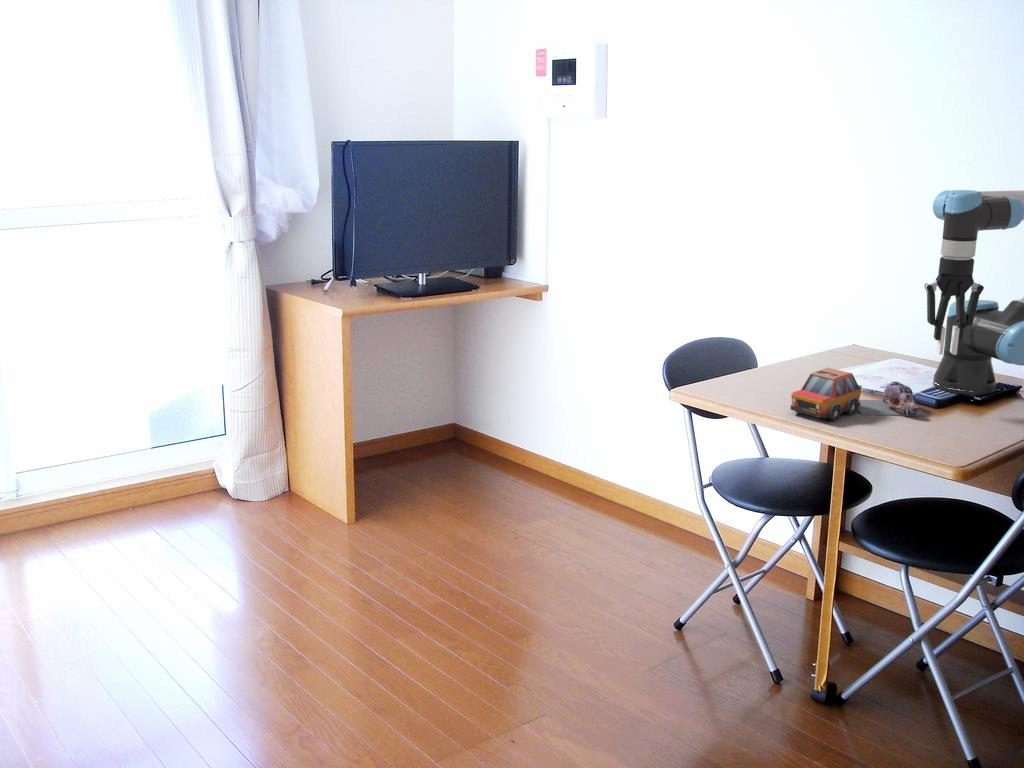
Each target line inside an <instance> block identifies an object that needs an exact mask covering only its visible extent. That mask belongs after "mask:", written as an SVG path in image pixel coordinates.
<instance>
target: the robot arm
mask: <svg viewBox="0 0 1024 768" xmlns="http://www.w3.org/2000/svg"><path fill="white" fill-rule="evenodd" d="M932 212H933V214H934V216H935V217H936V218H937V219H939V220H942V221H943V231H942V240H941V249H940V255H941V257H940V258H939V265H938V266H939V267H938V274H937V277H936V278H935V280H934V281H933V282H930V283H926V282H925V284H924V289H925V291H926V320H927V323H928V324H929V325H931V326H934V331H933V338H934V340H935V341H936V349H935V352H936V353H937V354H938V355H943V356H942V358H941V360H940V361H939V364H938V366H937V368H936V370H935V373H934V375H933V381H932V384H933V386H934V387H936V388H937V389H939V390H940V391H941V390H942V391H946V392H948V393H954V394H961V395H972V396H973V395H975V396H976V395H987V394H991V393H994V392H995V390H996V384H997V380H996V376H995V372H994V367H993V363H992V359H995V360H999V361H1001V362H1003V363H1006V364H1011V365H1014V366H1015V365H1016V366H1020V367H1021V366H1024V296H1023V297H1021V299H1013V300H1011V301H1010V303H1008V304H1007V305H1006V307H1005V308H1004V309H1002V310H999V308H1000V306H999V303H998V302H997V301H995V300H988V299H987V300H986V299H980V295H981V294H982V293H983V291H984V289H985V287H984V285H982V284H981V283H976V282H975V281H974V278H973V273H974V267H975V266H974V265H975V259H974V257H976V250H977V240H978V234H979V231H981V232H982V231H993V230H997V231H998V230H1001V231H1004V230H1008V229H1014V228H1016V227H1018V226H1019V225H1020V224H1021V223H1022V221H1024V190H990V191H989V190H986V191H984V190H983V191H982V190H981V191H978V190H973V189H972V190H971V189H970V190H969V189H955V190H954V189H953V190H943V191H941V192H939V193H938V194H937V195H936V196H935V198H934V200H933V204H932ZM937 288H938V289H939V290H940V293H941V294H940V299H939V305H938V309H937V313H936V291H937ZM969 289H970V291H971V293H970V296H969V299H967V300H966V293H967V292H968V291H969ZM952 297H955V301H954V302H952V303H951V304H950V305H949V303H950V301H951V298H952ZM948 306H949V307H948ZM947 310H948V313H947ZM946 314H947V315H946ZM945 318H946V326H944V322H945ZM934 382H935V383H937V384H939V385H940V386H939V385H937V384H935V383H934ZM945 387H946V388H945ZM948 388H953V389H960V390H966V391H959V390H953V389H948ZM969 391H973V392H969Z"/></svg>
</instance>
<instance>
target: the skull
mask: <svg viewBox="0 0 1024 768" xmlns="http://www.w3.org/2000/svg"><path fill="white" fill-rule="evenodd" d="M913 396H914V395H913V390H912V388H911V387H910V386H908V385H905V384H903V383H901V382H899V381H891V382H890V383H888V384H887V385H886V386H885V388H884V391H883V392H882V399H881V400H883V402H884V403H887V404H889V405H890V406H891V407H893V408H895V409H896V411H898V412H901V413H903V414H904V411H906V412H907V415H908V412H909V411H910V412H911V413H917V416H916V417H919V416H918V414H919V409H920V407H919V406H918V405H917V404H916V402H915V399H914V397H913Z"/></svg>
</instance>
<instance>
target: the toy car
mask: <svg viewBox="0 0 1024 768" xmlns="http://www.w3.org/2000/svg"><path fill="white" fill-rule="evenodd" d="M862 387H863V385H860V384H858V382H857V380H856V378H855V376H854V374H853V373H852V372H848V371H843V370H840V369H835V368H831V367H826V368H822V369H820V370H816V371H812V373H810V374H809V376H808V377H807V379H806V381H805V383H804V384H803V386H802V388H800V389H799V390H797V391H793V392H791V394H790V396H791V397H790V398H791V404H790V407H789V408H790V409H791V411H794V412H799V413H801V414H805V415H808V416H813V417H815V418H819V419H827V418H828V419H829V420H830V421H831V422H837V421H838V420H839V419H840V417H841V414H843V413H844V412H846V414H847V415H849V416H854V415H855V414H856V413H857V411H858V407H859V406H860V402H859V400H860V397H861V394H862Z"/></svg>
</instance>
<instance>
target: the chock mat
mask: <svg viewBox="0 0 1024 768" xmlns="http://www.w3.org/2000/svg"><path fill="white" fill-rule="evenodd" d="M859 402H860V406H859V407H858V409H857V411H858V413H860V415H861V416H889V417H890V416H892V417H893V416H895V417H897V416H898V417H926V413H924V412H923V411H922V410H921V409H920V408H919V414H918V416H917V413H911V412H910V411H909V412H908V415H907V412H906V411H904V414H903V413H901V412H898V411H896V409H895V408H893V407H891V406H890V405H889V404H887V403H884V402H883V400H882V399H859Z"/></svg>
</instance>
